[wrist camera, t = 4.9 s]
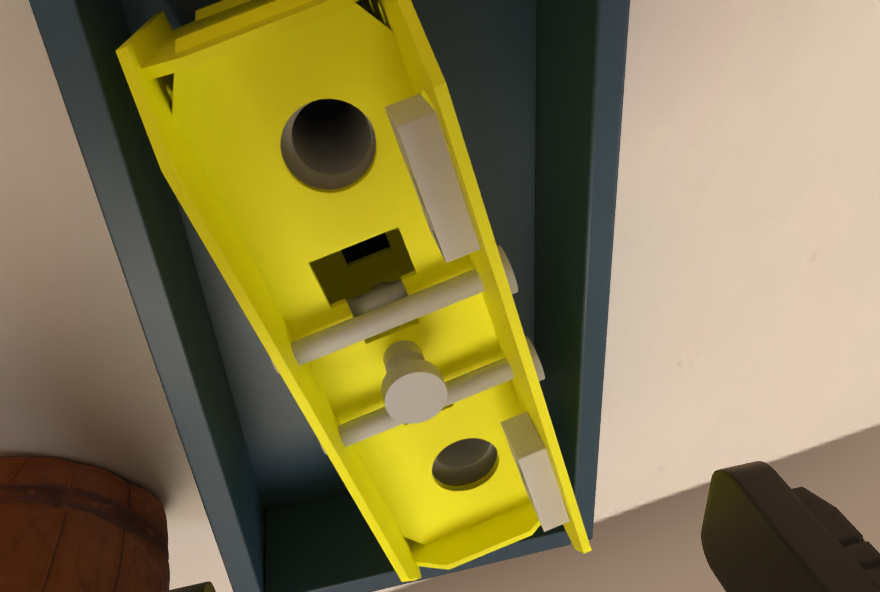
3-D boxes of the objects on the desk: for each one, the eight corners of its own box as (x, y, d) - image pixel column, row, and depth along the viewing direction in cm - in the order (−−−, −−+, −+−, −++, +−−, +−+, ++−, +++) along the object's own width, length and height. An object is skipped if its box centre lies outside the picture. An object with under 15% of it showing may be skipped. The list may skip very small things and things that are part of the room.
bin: (247, 521, 26) (243, 623, 22) (37, -166, 15) (-39, -191, 11) (549, 456, 27) (593, 540, 24) (563, -196, 17) (647, -226, 13)
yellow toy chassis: (520, 395, 25) (621, 584, 18) (378, 453, 25) (422, 667, 18) (364, -70, 17) (438, -56, 10) (147, 14, 16) (59, 91, 9)
